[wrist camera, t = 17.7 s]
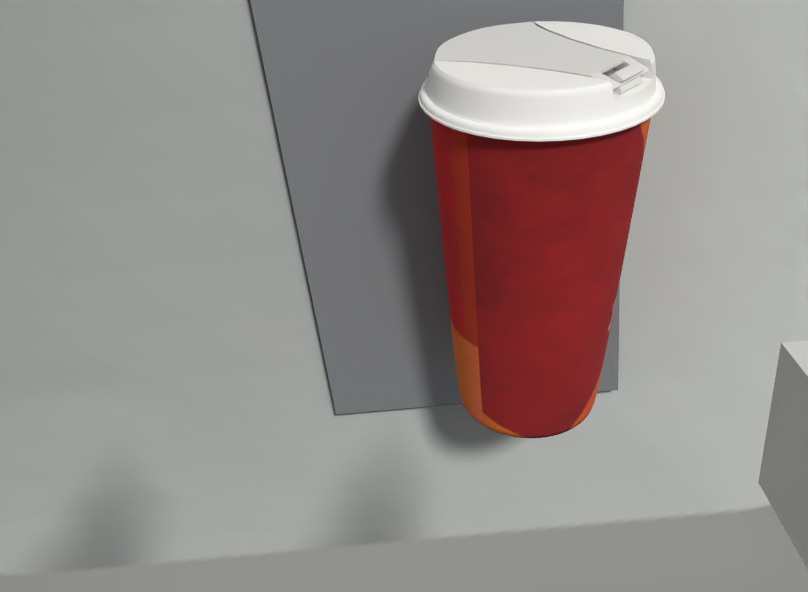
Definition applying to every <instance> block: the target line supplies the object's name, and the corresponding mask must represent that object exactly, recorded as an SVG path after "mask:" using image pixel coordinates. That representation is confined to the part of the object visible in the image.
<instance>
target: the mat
mask: <svg viewBox="0 0 808 592" xmlns="http://www.w3.org/2000/svg"><path fill="white" fill-rule="evenodd" d="M250 2H251V7H252V12H253V17H254V22H255V26H256V31H257V36H258V41H259V46H260V50H261V55H262V60H263V65H264V70H265V75H266V79H267V84H268V89H269V94H270V99H271V103H272V108H273V113H274V118H275V123H276V127H277V132H278V137H279V142H280V147H281V152H282V156H283V161H284V166H285V171H286V176H287V180H288V185H289V190H290V195H291V200H292V205H293V209H294V214H295V219H296V224H297V229H298V233H299V238H300V243H301V248H302V253H303V258H304V262H305V267H306V272H307V277H308V282H309V286H310V291H311V296H312V301H313V306H314V311H315V315H316V320H317V325H318V330H319V335H320V339H321V344H322V349H323V354H324V359H325V364H326V368H327V373H328V378H329V383H330V388H331V392H332V397H333V402H334V407H335V412H336V414H346V413H358V412H369V411H381V410H393V409H404V408H416V407H427V406H439V405H450V404H462V400H461V397H460V393H459V387H458V381H457V373H456V366H455V358H454V349H453V340H452V331H451V322H450V312H449V303H448V293H447V283H446V274H445V264H444V254H443V244H442V234H441V224H440V214H439V204H438V194H437V184H436V174H435V164H434V154H433V144H432V135H431V125H430V116H428V115H427V114H426V113H425V112H424V111H423V109H422V108H421V107H420V104H419V100H418V96H419V91H420V89H421V86H422V85H423V83H424V81H425V80H426V78H427V77H429V70H430V69H431V66H432V62H433V60H434V58H435V54H436V52H437V49H438V48H439V47H440V46H441V45H442V44H443V43H445V42H446V41H448V40H450V39H452V38H454V37H456V36H459V35H461V34H464V33H467V32H470V31H473V30H477V29H481V28H485V27H491V26H496V25H504V24H512V23H522V22H535V21H561V22H577V23H587V24H594V25H601V26H605V27H610V28H615V29H618V30H622V31H623V6H624V0H250ZM618 348H619V286H618V291H617V296H616V301H615V307H614V312H613V317H612V322H611V327H610V332H609V337H608V342H607V347H606V352H605V357H604V362H603V367H602V371H601V376H600V380H599V385H598V390H597V392H601V391H612V390H618Z"/></svg>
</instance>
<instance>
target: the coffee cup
mask: <svg viewBox="0 0 808 592" xmlns="http://www.w3.org/2000/svg"><path fill="white" fill-rule="evenodd" d="M418 100H419V104H420V107H421V108H422V109H423V111H424V112H425V113H426V114H427V115H428V116H430V125H431V135H432V144H433V154H434V164H435V174H436V184H437V194H438V204H439V214H440V224H441V234H442V244H443V254H444V264H445V274H446V283H447V293H448V303H449V312H450V322H451V331H452V340H453V349H454V358H455V366H456V373H457V381H458V387H459V393H460V397H461V400H462V403H463V405H464V407H465V408H466V410H467V411H468V413H469V414H470V415H471V416H472V417H473V418H474V419H475V420H476V421H478V422H479V423H480V424H482V425H483V426H485V427H487V428H489V429H491V430H493V431H496V432H498V433H501V434H505V435H508V436H513V437H520V438H543V437H549V436H554V435H558V434H561V433H563V432H566V431H568V430H570V429H572V428H574V427H575V426H577V425H578V424H580V423H581V422H582V421H583V420H584V419H585V418H586V417H587V415H588V414H589V412H590V411H591V409H592V406H593V404H594V401H595V397H596V393H597V390H598V385H599V380H600V376H601V371H602V367H603V362H604V357H605V352H606V347H607V342H608V337H609V332H610V327H611V322H612V317H613V312H614V307H615V301H616V296H617V291H618V286H619V281H620V276H621V271H622V265H623V260H624V255H625V250H626V244H627V239H628V234H629V229H630V223H631V218H632V213H633V207H634V202H635V197H636V192H637V186H638V181H639V176H640V171H641V166H642V160H643V155H644V150H645V145H646V139H647V134H648V129H649V124H650V118H651V117H652V116H653V115H655V114H656V113H657V112H658V111H659V110H660V108H661V107H662V106H663V103H664V100H665V92H664V88H663V86H662V83H661V82H660V80H659V78H658V77H657V76H656V68H655V56H654V53H653V51H652V49H651V47H650V46H649V44H648V43H646V42H645V41H644V40H643V39H641V38H639V37H637V36H635V35H633V34H630V33H628V32H625V31H622V30H618V29H615V28H610V27H605V26H601V25H594V24H587V23H577V22H561V21H535V22H522V23H512V24H504V25H496V26H491V27H485V28H481V29H477V30H473V31H470V32H467V33H464V34H461V35H459V36H456V37H454V38H452V39H450V40H448V41H446V42H445V43H443V44H442V45H441V46H440V47H439V48H438V49H437V52H436V54H435V58H434V60H433V62H432V66H431V69H430V70H429V77H427V78H426V80H425V81H424V83H423V85H422V86H421V89H420V91H419V96H418Z"/></svg>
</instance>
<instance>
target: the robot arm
mask: <svg viewBox="0 0 808 592" xmlns="http://www.w3.org/2000/svg"><path fill="white" fill-rule="evenodd" d="M759 484H760V486H761V488H762V490H763V491H764V493H765V495H766V497H767V498H768V500H769V502H770V504H771V505H772V507H773V509H774V510H775V512H776V514H777V516H778V517H779V519H780V521H781V523H782V525H783V526H784V528H785V530H786V532H787V534H788V535H789V537H790V539H791V540H792V542H793V544H794V546H795V547H796V549H797V551H798V553H799V555H800V556H801V558H802V560H803V562H804V563H805V565H806V567H807V569H808V341H798V342H785V343H781V348H780V354H779V360H778V366H777V372H776V378H775V384H774V390H773V397H772V403H771V409H770V415H769V421H768V427H767V433H766V439H765V445H764V451H763V458H762V464H761V470H760V476H759Z"/></svg>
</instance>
